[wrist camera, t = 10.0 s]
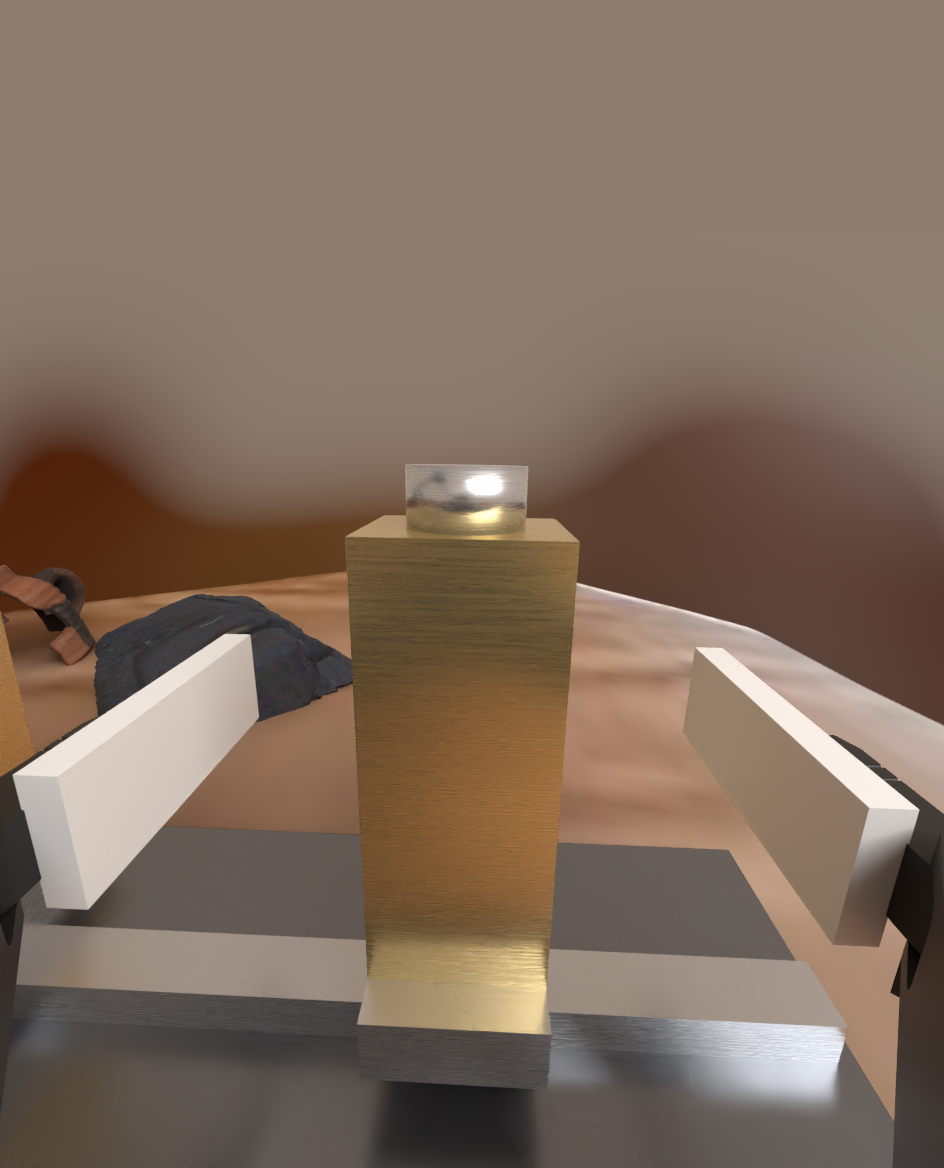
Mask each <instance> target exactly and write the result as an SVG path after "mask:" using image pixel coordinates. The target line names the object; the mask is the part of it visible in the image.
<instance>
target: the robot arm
mask: <svg viewBox="0 0 944 1168" xmlns="http://www.w3.org/2000/svg"><path fill="white" fill-rule="evenodd" d="M258 718H259V712H258V702H257V693H256V683H255V674H254V664H253V655H252V645H251V636H250V635H248V634H224V635H223V636H221V637H220V638H218V639H217V640H215V641H214V642H212V643H211V644H209V645H208V646H206V647H204V648H203V649H201V650H200V651H198V652H197V653H195V654H194V655H192V656H191V657H189V658H188V659H186V660H185V661H183V662H182V663H180V664H179V665H177V666H176V667H174V668H173V669H171V670H170V671H168V672H167V673H165V674H164V675H162V676H161V677H159V678H158V679H156V680H155V681H153V682H152V683H150V684H149V685H147V686H146V687H144V688H143V689H141V690H140V691H138V692H137V693H135V694H134V695H132V696H131V697H129V698H128V699H126V700H125V701H123V702H122V703H120V704H119V705H117V706H116V707H114V708H113V709H111V710H110V711H108V712H107V713H105V714H103V715H101V716H99V717H96V718H94V719H92V720H89V721H87V722H85V723H83V724H81V725H80V726H78V727H76V728H75V729H73V730H72V731H70V732H69V733H67V734H66V735H64V736H63V737H62V739H61V740H56V741H55V742H53V743H52V744H50V745H49V746H47V747H46V748H44V751H40V752H38V753H37V754H35V755H33V756H32V757H30V758H29V759H27V760H26V761H24V762H23V763H21V764H20V765H18V766H17V767H15V768H14V769H12V770H10V771H9V772H7V773H6V774H4V775H3V776H1V777H0V1116H1V1107H2V1099H3V1090H4V1082H5V1074H6V1065H7V1057H8V1049H9V1040H10V1032H11V1024H12V1015H13V1007H14V998H15V990H16V982H17V973H18V965H19V957H20V948H21V940H22V931H23V923H24V913H23V909H22V906H21V902H20V899H21V898H22V897H23V896H24V895H25V894H26V893H27V892H28V891H29V890H30V889H31V888H32V887H33V886H35V885H36V884H37V883H38V882H39V881H40V884H41V887H42V891H43V895H44V899H45V903H46V907H47V908H63V909H84V910H88V909H89V908H90V907H91V906H92V905H93V904H94V903H95V902H96V900H97V899H98V898H99V897H100V896H101V895H102V894H103V893H104V891H105V890H106V889H107V888H108V887H109V886H110V885H111V884H112V882H113V881H114V880H115V879H116V878H117V877H118V876H119V875H120V873H121V872H122V871H123V870H124V869H125V868H126V867H127V866H128V864H129V863H130V862H131V861H132V860H133V859H134V858H135V857H136V855H137V854H138V853H139V852H140V851H141V850H142V849H143V848H144V846H145V845H146V844H147V843H148V842H149V841H150V840H151V839H152V837H153V836H154V835H155V834H156V833H157V832H158V831H159V830H160V828H161V827H162V826H163V825H164V824H165V823H166V822H167V821H168V819H169V818H170V817H171V816H172V815H173V814H174V813H175V812H176V810H177V809H178V808H179V807H180V806H181V805H182V804H183V803H184V801H185V800H186V799H187V798H188V797H189V796H190V795H191V794H192V792H193V791H194V790H195V789H196V788H197V787H198V786H199V785H200V783H201V782H202V781H203V780H204V779H205V778H206V777H207V776H208V774H209V773H210V772H211V771H212V770H213V769H214V768H215V767H216V765H217V764H218V763H219V762H220V761H221V760H222V759H223V758H224V757H225V755H226V754H227V753H228V752H229V751H230V750H231V749H232V748H233V746H234V745H235V744H236V743H237V742H238V741H239V740H240V739H241V737H242V736H243V735H244V734H245V733H246V732H247V731H248V730H249V728H250V727H251V726H252V725H253V724H254V723H255V722H256V721H257V719H258ZM683 733H684V734H685V735H686V737H687V738H688V740H689V741H690V742H691V744H692V745H693V747H694V748H695V750H696V751H697V752H698V754H699V755H700V757H701V758H702V759H703V761H704V762H705V764H706V765H707V767H708V768H709V769H710V771H711V772H712V774H713V775H714V776H715V778H716V779H717V781H718V782H719V784H720V785H721V786H722V788H723V789H724V791H725V792H726V794H727V795H728V796H729V798H730V799H731V801H732V802H733V803H734V805H735V806H736V808H737V809H738V811H739V812H740V813H741V815H742V816H743V818H744V819H745V820H746V822H747V823H748V825H749V826H750V828H751V829H752V830H753V832H754V833H755V835H756V836H757V837H758V839H759V840H760V842H761V843H762V845H763V846H764V847H765V849H766V850H767V852H768V853H769V854H770V856H771V857H772V859H773V860H774V862H775V863H776V864H777V866H778V867H779V869H780V870H781V872H782V873H783V874H784V876H785V877H786V879H787V880H788V881H789V883H790V884H791V886H792V887H793V889H794V890H795V891H796V893H797V894H798V896H799V897H800V898H801V900H802V901H803V903H804V904H805V906H806V907H807V908H808V910H809V911H810V913H811V914H812V915H813V917H814V918H815V920H816V921H817V923H818V924H819V925H820V927H821V928H822V930H823V931H824V932H825V934H826V935H827V937H828V938H829V940H830V941H831V942H832V944H833V945H849V946H870V947H879V945H880V942H881V938H882V935H883V932H884V928H885V925H886V922H887V918H889V919H890V921H891V922H892V923H893V924H894V925H895V926H896V927H897V929H898V930H899V931H900V932H901V933H902V934H903V936H904V937H905V938H906V939H907V941H906V944H905V947H904V951H903V954H902V957H901V960H900V963H899V967H898V970H897V973H896V976H895V979H894V983H893V986H892V989H891V993H892V994H894V995H896V996H898V997H900V1002H899V1026H898V1049H897V1072H896V1096H895V1119H894V1142H893V1166H892V1168H944V814H943V813H942V812H940V811H939V810H938V809H936V808H935V807H934V806H933V805H931V804H930V803H929V802H928V801H926V800H925V799H924V798H922V797H921V796H920V795H919V794H917V793H916V792H915V791H914V790H912V789H911V788H910V787H908V786H907V785H906V784H905V783H903V782H902V781H898V780H897V777H896V776H894V775H893V774H892V773H891V772H889V771H888V770H887V769H886V768H881V765H880V764H879V763H878V762H877V761H875V760H874V759H873V758H872V757H870V756H869V755H868V754H866V753H865V752H864V751H863V750H861V749H860V748H858V747H856V746H854V745H852V744H850V743H848V742H846V741H844V740H842V739H840V738H839V737H837V736H835V735H828V734H826V733H825V732H824V731H823V730H821V729H820V728H819V727H818V726H817V725H815V724H814V723H813V722H812V721H810V720H809V719H808V718H807V717H806V716H804V715H803V714H802V713H801V712H799V711H798V710H797V709H796V708H795V707H793V706H792V705H791V704H790V703H788V702H787V701H786V700H785V699H784V698H782V697H781V696H780V695H779V694H777V693H776V692H775V691H774V690H773V689H771V688H770V687H769V686H768V685H766V684H765V683H764V682H763V681H762V680H760V679H759V678H758V677H757V676H755V675H754V674H753V673H752V672H751V671H749V670H748V669H747V668H746V667H744V666H743V665H742V664H741V663H740V662H738V661H737V660H736V659H735V658H733V657H732V656H731V655H730V654H729V653H727V652H726V651H725V650H724V649H723V648H698V647H695V653H694V660H693V667H692V674H691V681H690V688H689V695H688V702H687V709H686V716H685V723H684V730H683Z"/></svg>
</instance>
